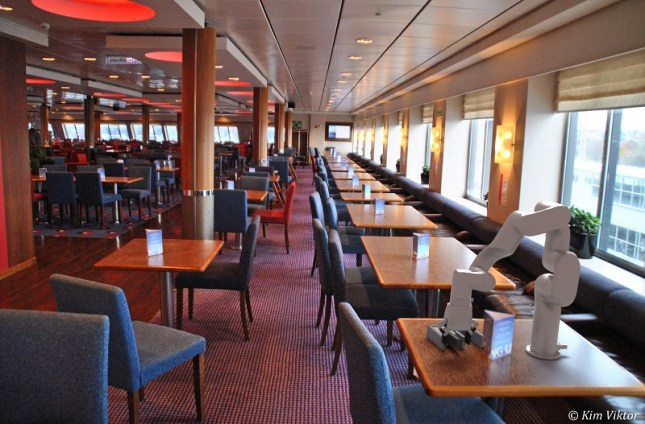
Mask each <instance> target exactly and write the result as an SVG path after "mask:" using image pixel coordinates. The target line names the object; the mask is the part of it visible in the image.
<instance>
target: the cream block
mask: <svg viewBox="0 0 645 424" xmlns="http://www.w3.org/2000/svg"><path fill="white" fill-rule="evenodd" d="M433 328H434V329H436V330H437V331H438V332H439V333H441V332H440V331H439V330H438V327H433ZM443 328H444V327H442V329H443ZM441 334H442V333H441ZM447 336H448V341H447V346H450V347H451V348H452V349H453V350H455V351H458V352H459V351H460V349H461V348H460V342H461V339H460V338H458V337H457V336H456V334H455V333H454V332H453V331H450V332H449V333H448V334H447Z"/></svg>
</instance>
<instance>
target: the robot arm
mask: <svg viewBox="0 0 645 424" xmlns="http://www.w3.org/2000/svg"><path fill="white" fill-rule="evenodd" d="M571 218H572V213H571V210H570V208H569V207H567V206H566V205H564V204H561V203H557V202H553V201H550V200H541V201H539V202H537V203H536V204H535V206H534V210H533V212H528V211H524V210H513V211H512V212H511V213H510V214H509V215H508V216H507V218H506V220H505V221H504V223H503V225H502V226H501V228H500V229H499V231H498V233H497V234H496V235H495V237H494V238H493V240H492V241H491V243H489V244H488V245H487V246H486V247H484V248H483V249H482V250H481V251H479V253H478V254H477V255H476V256H475V258H474V259H473V261H472V262H471V263H470V265H469V267H468V268H462V267H461V268H460V267H459V268H454V270H453V272H452V279H451V287H450V288H451V290H450V297H449V298H450V299H449V302H447V305H446V307H445V311H444V314H443V315H444V316H443V319H442V320H439V321H438V322H436V324H435V325H437V327H438V330H439V331H440V332H441V333H442V338H441V342H442V344H444V345H445V347H446V346H448V345H447V341H448V336H447V334H448V333H449V332H450V331H467V332H466V333H465V340H464V342H465V344H466V345H468V346H470V345H471V343H472V341H471V335H473V332H474V331H475V330H477V328H478V327H479V325H480V323H479V322H478V321H476V320H474V319H473V306H472V307H471V305H470V304H472V303H473V302H474V298H473V297H472V291H473V290H474V291H478V292H484V293H485V292H490V291H493V289H495V287H496V286H497V281H496V280H497V279H496V278H495V276H494V274H492V273H491V272H490V270H491V268H492V267H493V265H494V264H495V263H496V262H498V261H499V260H501V259H503V258H507V257H510V256H511V255H513V254H514V253H515V251H516V250H517V248H518V247H519V245H520V243H521V241H522V240H523V239H524V238H525V237H536V236H539V235H543V234H545V237H544V238H545V239H544V247H543V252H542V253H543V254H542V258H541V263H542V265H543V267H544V268H545V269H546V270H548V271H549V272H551V273H543V274H541V275H539V276H538V277H537V278H536V280H535V282H534V287H533V290H534V292H533V293H534V309H533V316H532V317H533V318H532V327H531V336H530V343H529V344H528V345H527V346H525V353H527V354H528V355H530V356H531V357H535V358H537V359H541V360H549V361H551V360H552V361H553V360H559V359H560V358H561V352H560V350H568V344H566V343H560V342H558V339H559V332H560V322H561V315H562V314H561V312H562V308H565V307H568V306H570V305H571V304H572V303H573V302H574V300H575V298H576V297H577V292H578V286H579V280H580V273H581V263H580V260H579V257H578V256H577V255H575V254H574V253H572V252H570V244H571V243H570V242H571V230H570V226H569V223H570V222H571ZM472 324H473V325H472ZM442 325H443V326H444V328H443V329H442Z"/></svg>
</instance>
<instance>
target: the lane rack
mask: <svg viewBox="0 0 645 424" xmlns="http://www.w3.org/2000/svg"><path fill="white" fill-rule="evenodd" d="M433 327H437V325H436V324H428V325H427V328H426V338H428V339H429V340H430V341H431V342H432V343H433V344H434V345H435V346H437V348H439V349H440V350H441V351H446V346H445V345H444V344H442V342H441V338H442V334H441V333H439V332H438V331H437V330H436V329H434V328H433ZM442 327H444V326H443V325H442ZM453 332H454V333H455V334H456V336H457V337H458V338H460V339H461V342H460V349H461V350H465V347H466V346H465V344H466V343H465V342H464V340H465V333H466V332H467V331H453ZM483 335H484V334H483V333H481V332H480V331H479V330H477V329H476V330H475V331H474V332H473V335H471V343H473V344H475V345H476V346H477V347H479V348H480V349H483V348H482V347H483V339H484V336H485V335H484V336H483ZM484 340H485V339H484Z"/></svg>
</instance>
